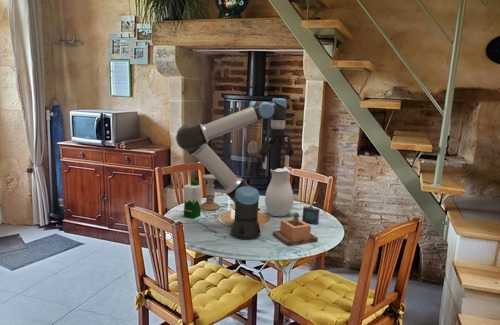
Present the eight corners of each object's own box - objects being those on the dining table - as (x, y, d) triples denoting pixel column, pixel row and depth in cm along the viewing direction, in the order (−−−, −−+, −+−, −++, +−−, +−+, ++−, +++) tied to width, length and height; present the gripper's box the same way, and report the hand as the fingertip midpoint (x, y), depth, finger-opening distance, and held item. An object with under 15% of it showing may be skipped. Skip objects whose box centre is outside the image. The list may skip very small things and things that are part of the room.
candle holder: (195, 208, 229) (196, 176, 226) (208, 203, 239) (208, 173, 236) (211, 212, 223) (212, 179, 219) (223, 207, 233) (224, 175, 230)
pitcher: (286, 219, 215) (289, 172, 210) (259, 214, 222) (262, 168, 217) (299, 209, 236) (302, 166, 231) (274, 205, 243) (277, 163, 238)
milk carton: (202, 215, 217) (203, 181, 213) (194, 219, 208) (195, 184, 205) (189, 212, 220) (190, 179, 216) (181, 217, 212) (181, 182, 208)
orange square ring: (292, 240, 179) (293, 228, 178) (280, 231, 190) (280, 220, 189) (310, 237, 184) (310, 225, 183) (296, 229, 194) (297, 218, 193)
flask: (318, 223, 211) (320, 205, 209) (317, 225, 208) (319, 206, 206) (302, 221, 214) (303, 203, 212) (301, 222, 211) (302, 204, 210)
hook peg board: (287, 246, 177) (289, 218, 174) (272, 235, 190) (273, 209, 188) (317, 241, 184) (319, 215, 182) (300, 231, 197) (302, 206, 195)
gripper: (259, 128, 187) (257, 170, 191) (302, 128, 198) (299, 168, 202) (253, 127, 194) (251, 167, 198) (294, 127, 205) (291, 165, 208)
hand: (275, 168), depth 200 cm, fingers open, 13 cm apart
